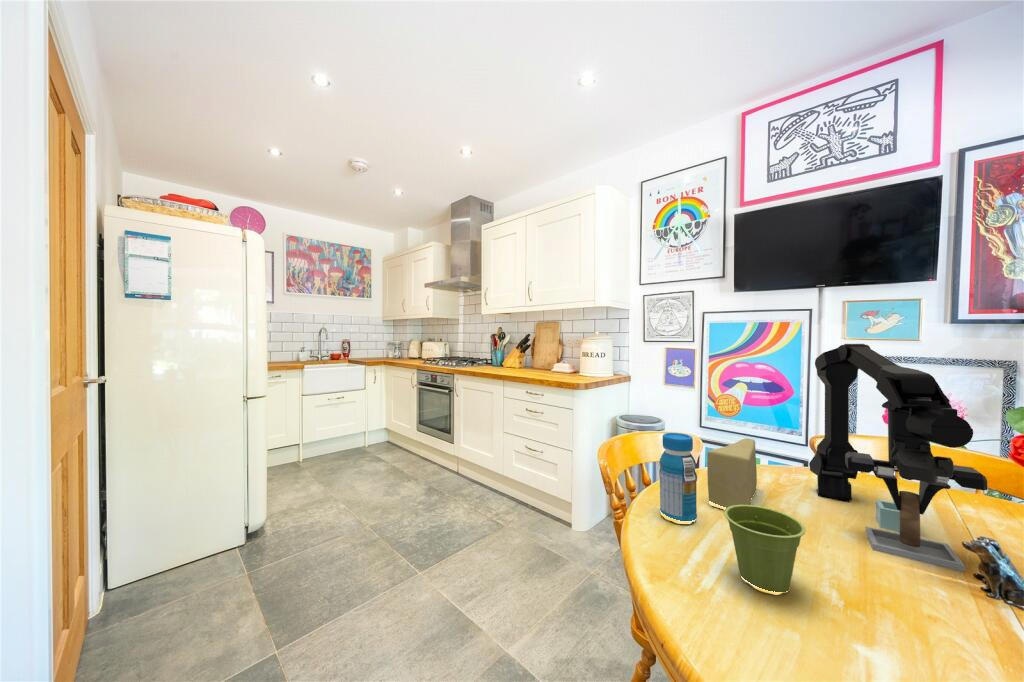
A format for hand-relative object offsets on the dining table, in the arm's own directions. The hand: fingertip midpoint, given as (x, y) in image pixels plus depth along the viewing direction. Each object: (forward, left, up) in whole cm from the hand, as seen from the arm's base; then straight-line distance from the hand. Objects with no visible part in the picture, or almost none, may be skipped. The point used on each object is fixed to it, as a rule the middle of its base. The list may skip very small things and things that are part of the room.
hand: (909, 511), depth 74 cm
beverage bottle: (-41, -12, -8) cm, 44 cm away
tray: (0, 0, -8) cm, 8 cm away
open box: (0, +12, -8) cm, 15 cm away
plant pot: (-23, -29, -8) cm, 38 cm away
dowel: (0, 0, -6) cm, 6 cm away
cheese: (-30, +10, -9) cm, 33 cm away
